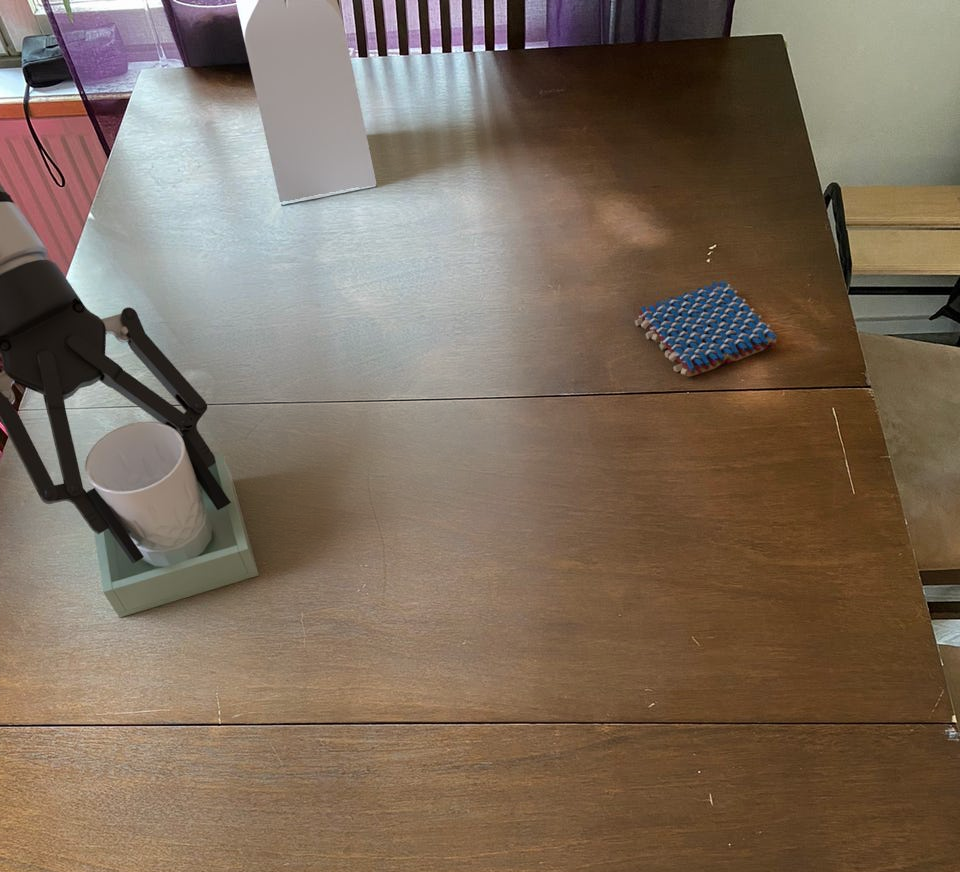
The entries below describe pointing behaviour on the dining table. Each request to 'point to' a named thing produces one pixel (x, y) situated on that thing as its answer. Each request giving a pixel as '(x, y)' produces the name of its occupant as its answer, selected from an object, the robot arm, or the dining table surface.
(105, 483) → the white cup
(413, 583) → the dining table surface
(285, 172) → the milk
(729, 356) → the woven mat
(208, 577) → the socket
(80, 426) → the dining table surface
